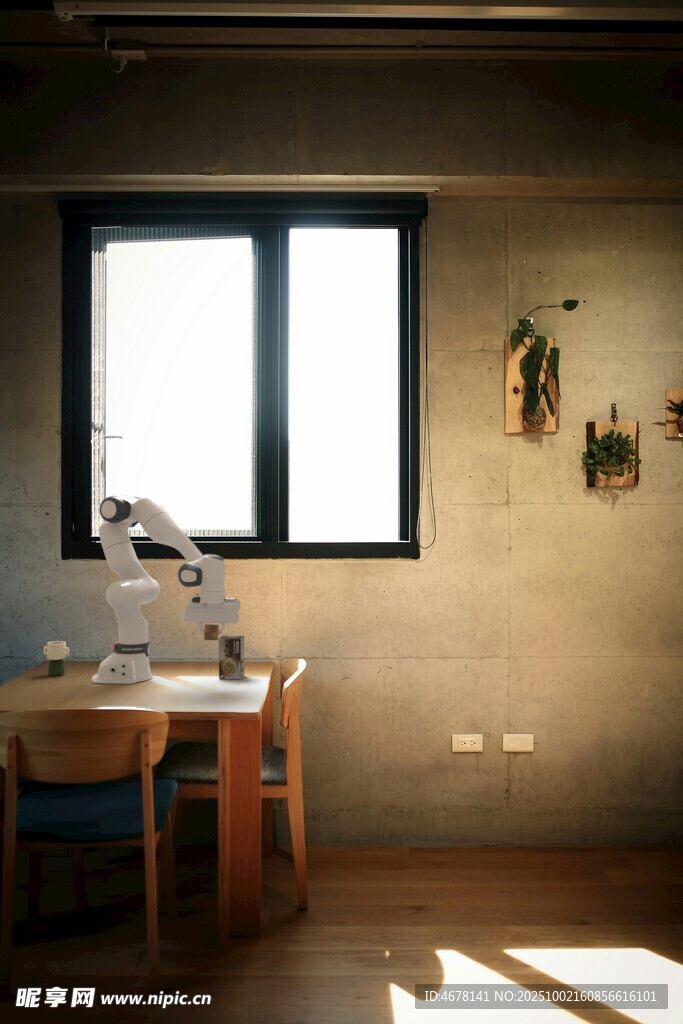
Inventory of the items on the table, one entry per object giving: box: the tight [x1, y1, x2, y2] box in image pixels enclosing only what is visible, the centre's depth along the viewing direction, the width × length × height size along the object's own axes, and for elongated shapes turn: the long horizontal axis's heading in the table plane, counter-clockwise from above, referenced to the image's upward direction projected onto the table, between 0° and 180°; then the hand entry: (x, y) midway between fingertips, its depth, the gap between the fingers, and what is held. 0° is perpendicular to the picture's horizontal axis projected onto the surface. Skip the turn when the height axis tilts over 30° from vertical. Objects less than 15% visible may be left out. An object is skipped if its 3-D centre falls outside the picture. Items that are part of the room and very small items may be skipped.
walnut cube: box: [203, 623, 220, 641], centre depth 284 cm, size 5×5×5 cm
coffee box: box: [218, 635, 245, 680], centre depth 298 cm, size 9×6×16 cm
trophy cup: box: [43, 640, 70, 676], centre depth 300 cm, size 11×7×13 cm, turn 80°
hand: (211, 634), depth 285 cm, fingers closed on walnut cube, 5 cm apart
